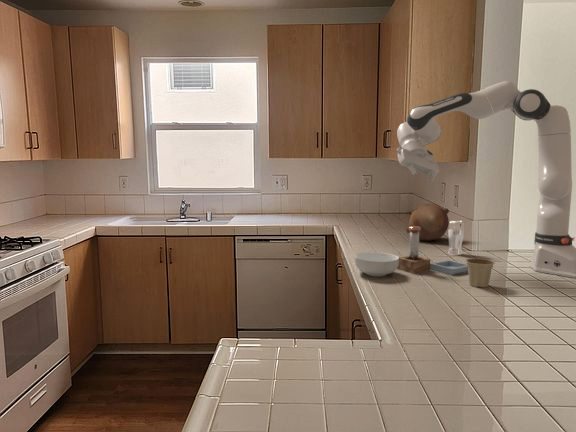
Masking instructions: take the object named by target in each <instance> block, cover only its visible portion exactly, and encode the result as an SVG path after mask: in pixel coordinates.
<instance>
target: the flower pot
mask: <svg viewBox="0 0 576 432" xmlns="http://www.w3.org/2000/svg"><path fill="white" fill-rule="evenodd" d="M465 262H466V264H467V266H468V272H467V273H468V281H469V282H468V284H469V286H472V287H475V288H478V287H480V288H487V287H488V286H489V283H490V278H491V273H492V269H493V267H494V265H495V264H496V263H495V261H494V260H491V259H486V258H485V259H484V258H477V257H476V258H475V257H474V258H467V259H465Z"/></svg>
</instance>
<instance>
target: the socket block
mask: <svg viewBox="0 0 576 432" xmlns="http://www.w3.org/2000/svg"><path fill="white" fill-rule="evenodd" d="M398 257H399V256H398ZM430 263H431V258H428V257H424V256H423V257H422V256H419V255H418V260H415V261H413V260H409V255H407V256H406V255H405V256H400V257H399V264H398V267H397V269H396V270H401V271H404V272H407V273H411V274H419V273H425V272H428V271H430Z"/></svg>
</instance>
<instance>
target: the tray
mask: <svg viewBox="0 0 576 432" xmlns="http://www.w3.org/2000/svg"><path fill="white" fill-rule="evenodd" d="M430 270H431V271H435V272H438V273H440V274H441V273H442V274H445V275H449V276H452V277H453V276H456V275H462V274H466V273H468V266H467V263H462V262H458V261H454V260H449V259H446V260H440V261H436V262H430ZM430 270H429V271H430Z"/></svg>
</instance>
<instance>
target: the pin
mask: <svg viewBox="0 0 576 432" xmlns="http://www.w3.org/2000/svg"><path fill="white" fill-rule="evenodd" d="M408 228H409V230H410V233H409V246H408V247H409V248H408V249H409V251H408V256H409V260H413V261H415V260H418V256H419V253H420V252H419V249H420V239H419V231H420V230H421V227H419V226H409V225H408Z"/></svg>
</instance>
